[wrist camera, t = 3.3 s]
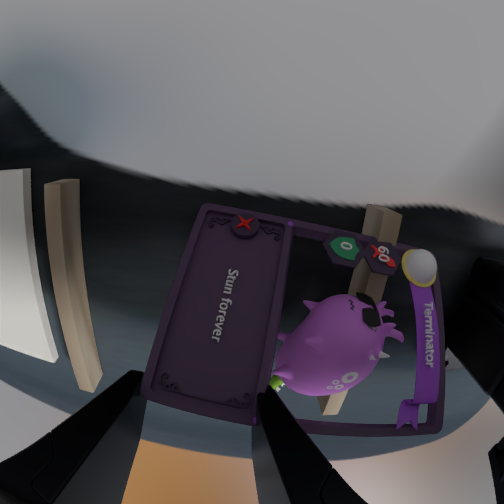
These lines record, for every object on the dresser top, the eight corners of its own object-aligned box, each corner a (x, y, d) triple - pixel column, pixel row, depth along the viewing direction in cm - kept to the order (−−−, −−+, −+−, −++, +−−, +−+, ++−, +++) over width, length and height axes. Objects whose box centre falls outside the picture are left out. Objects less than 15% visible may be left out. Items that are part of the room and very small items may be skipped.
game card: (201, 187, 10) (445, 241, 9) (208, 264, 14) (387, 299, 14) (129, 393, 6) (456, 431, 6) (169, 405, 11) (379, 435, 10)
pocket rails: (384, 206, 11) (402, 214, 10) (330, 394, 14) (337, 414, 13) (64, 179, 10) (44, 184, 9) (90, 371, 13) (80, 389, 12)
